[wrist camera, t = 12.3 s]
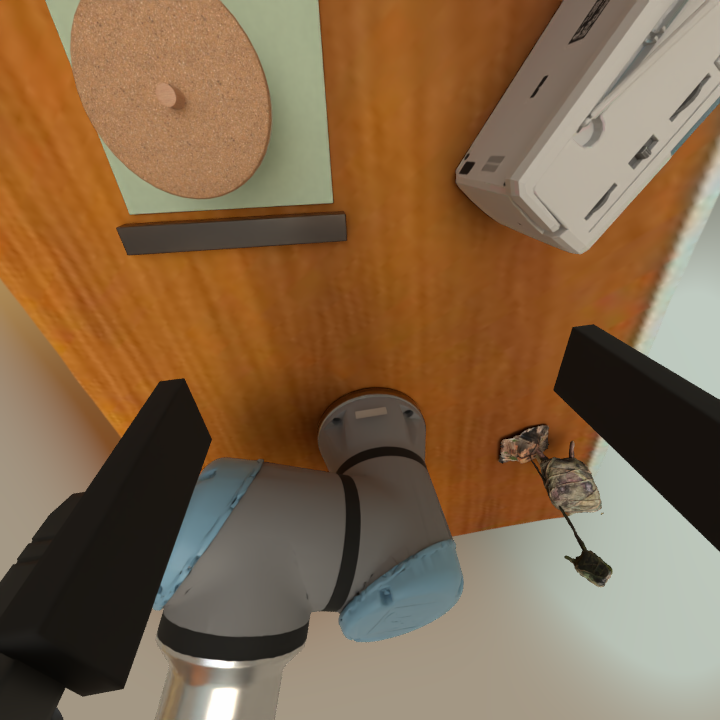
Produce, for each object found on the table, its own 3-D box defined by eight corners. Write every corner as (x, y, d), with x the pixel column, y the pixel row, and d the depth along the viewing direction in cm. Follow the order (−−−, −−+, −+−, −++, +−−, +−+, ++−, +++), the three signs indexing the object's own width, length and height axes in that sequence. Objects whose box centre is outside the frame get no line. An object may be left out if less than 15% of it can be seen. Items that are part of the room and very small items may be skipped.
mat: (333, 202, 31) (333, 203, 30) (132, 213, 29) (129, 214, 29) (316, -18, 23) (316, -21, 22) (42, -17, 21) (37, -20, 21)
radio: (498, 225, 33) (679, 303, 17) (437, 179, 30) (583, 219, 14) (688, -31, 25) (1459, -393, 8) (628, -131, 22) (1658, -1037, 5)
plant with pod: (554, 454, 56) (655, 585, 39) (490, 461, 55) (567, 598, 38) (569, 420, 51) (691, 550, 35) (501, 427, 50) (593, 564, 34)
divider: (345, 237, 32) (347, 241, 31) (135, 250, 31) (127, 255, 30) (344, 210, 31) (345, 213, 30) (124, 224, 30) (115, 227, 28)
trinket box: (293, 180, 29) (285, 192, 21) (170, 194, 28) (115, 213, 20) (261, 6, 23) (234, -67, 15) (105, 21, 22) (-8, -46, 15)
